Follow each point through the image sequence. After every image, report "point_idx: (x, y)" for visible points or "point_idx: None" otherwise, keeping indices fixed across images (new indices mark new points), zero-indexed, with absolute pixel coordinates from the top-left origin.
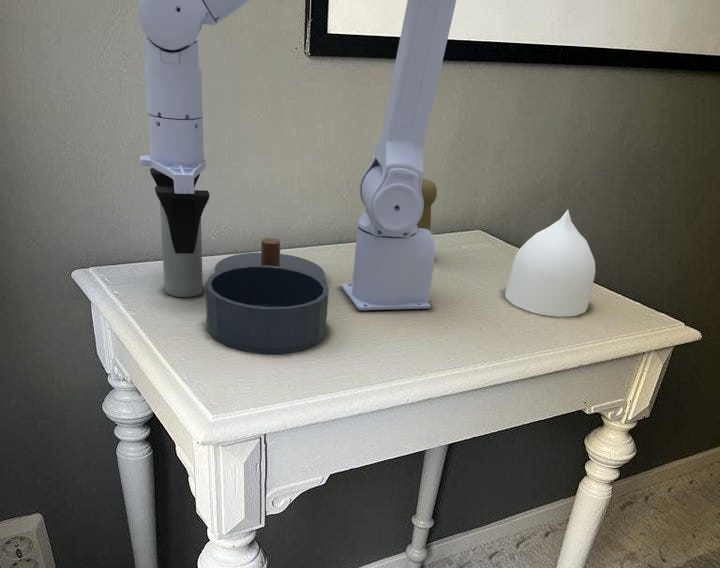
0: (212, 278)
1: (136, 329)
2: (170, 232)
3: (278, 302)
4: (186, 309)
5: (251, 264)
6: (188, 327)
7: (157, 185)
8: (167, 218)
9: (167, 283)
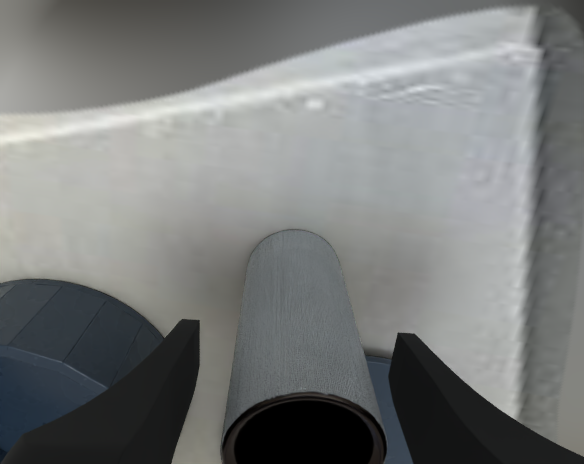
0: (49, 367)
1: (47, 124)
2: (151, 353)
3: None
4: (176, 257)
5: (389, 434)
6: (65, 243)
7: (471, 438)
8: (111, 387)
9: (272, 245)
